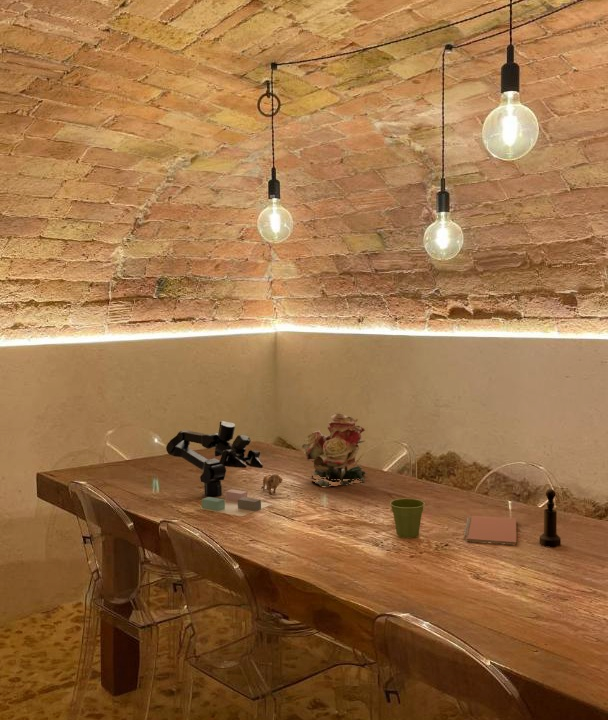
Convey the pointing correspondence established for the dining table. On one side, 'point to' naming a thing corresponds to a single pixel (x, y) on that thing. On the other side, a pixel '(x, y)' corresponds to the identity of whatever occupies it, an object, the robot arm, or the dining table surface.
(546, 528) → the black pepper mill
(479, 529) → the notebook
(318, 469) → the rose bouquet
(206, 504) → the teal brick
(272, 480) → the lion figurine
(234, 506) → the baseplate
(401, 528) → the plant pot
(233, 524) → the dining table surface
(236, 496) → the mauve brick
